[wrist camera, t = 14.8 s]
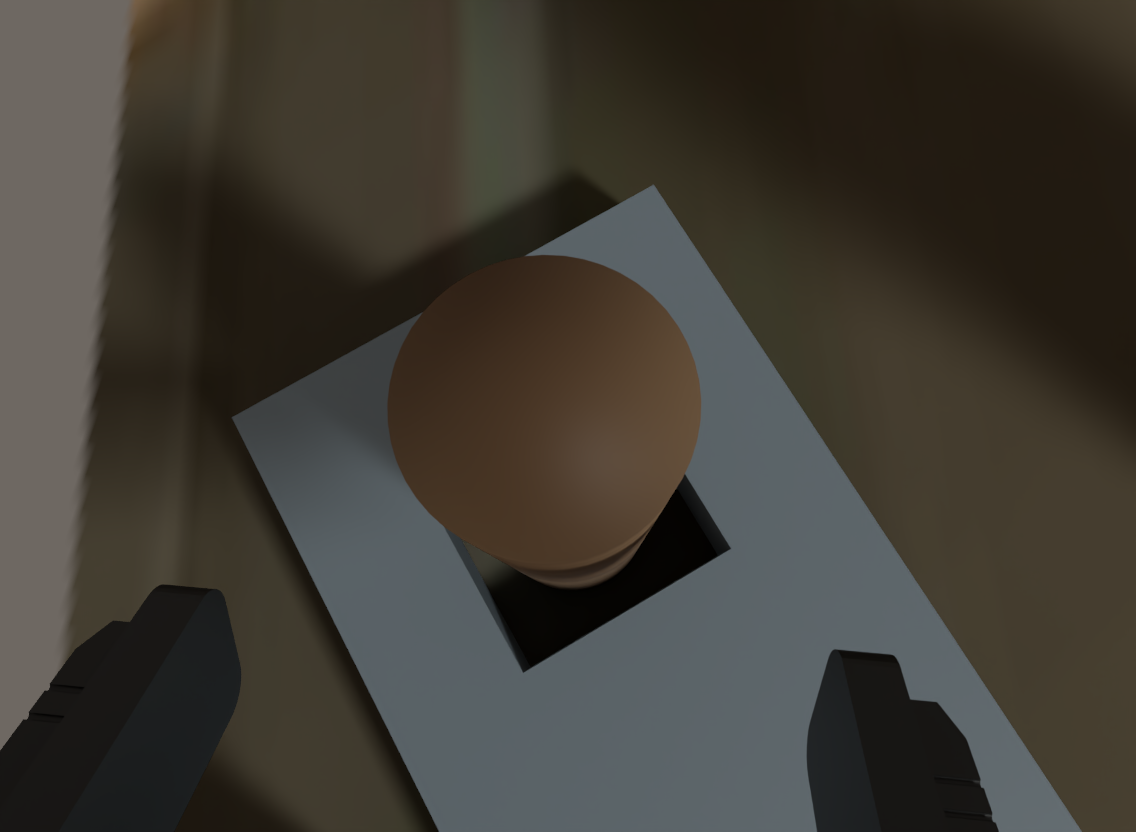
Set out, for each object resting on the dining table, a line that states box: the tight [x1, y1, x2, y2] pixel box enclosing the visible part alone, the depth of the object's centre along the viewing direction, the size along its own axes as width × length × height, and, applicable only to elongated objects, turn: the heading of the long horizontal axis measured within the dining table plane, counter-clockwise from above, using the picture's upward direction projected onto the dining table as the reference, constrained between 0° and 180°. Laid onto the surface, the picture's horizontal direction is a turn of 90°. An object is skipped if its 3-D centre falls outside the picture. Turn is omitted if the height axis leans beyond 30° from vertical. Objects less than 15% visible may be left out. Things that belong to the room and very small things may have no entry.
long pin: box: [387, 255, 701, 591], centre depth 18 cm, size 4×4×14 cm
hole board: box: [232, 185, 1082, 832], centre depth 23 cm, size 13×20×2 cm, turn 30°
